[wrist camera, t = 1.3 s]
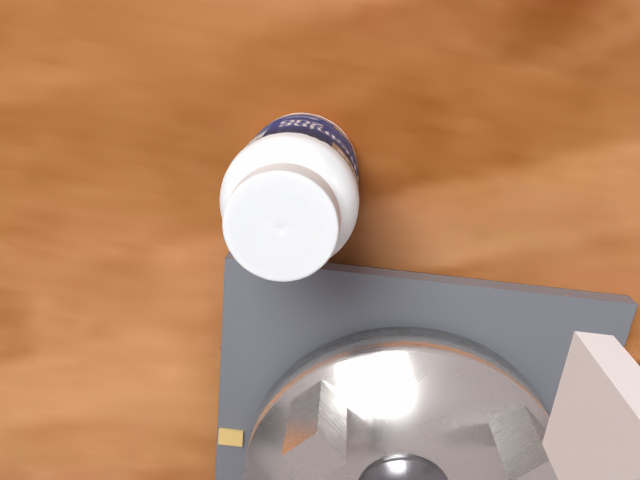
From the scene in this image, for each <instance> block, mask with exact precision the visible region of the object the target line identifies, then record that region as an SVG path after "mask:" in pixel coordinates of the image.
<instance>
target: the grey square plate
mask: <svg viewBox="0 0 640 480" xmlns="http://www.w3.org/2000/svg"><path fill="white" fill-rule="evenodd" d="M637 306H638V304H637V303H636V302H635V301H634V300H633V299H632V298H631V297H630V296H625V295H616V294H607V293H598V292H589V291H580V290H571V289H562V288H553V287H544V286H535V285H526V284H517V283H508V282H499V281H490V280H481V279H472V278H463V277H454V276H445V275H436V274H427V273H418V272H409V271H400V270H391V269H382V268H373V267H364V266H355V265H346V264H337V263H328V262H326V263H325V264H324V265H323V266H322V267H321V268H320V269H319V270H317V271H316V272H315V273H313V274H311V275H310V276H308V277H305V278H303V279H300V280H295V281H288V282H277V281H271V280H266V279H263V278H261V277H258V276H256V275H254V274H252V273H250V272H249V271H247V270H246V269H245V268H243V267H242V266H241V265H240V264H239V263H238V262H237V261H236V260H235V258H234V257H233V255H232V254H231V252H229V253H228V254H227V256H226V258H225V273H224V296H223V318H222V341H221V364H220V387H219V410H218V433H217V455H216V478H215V480H243V471H244V464H245V458H246V454H247V450H248V446H249V442H250V438H251V434H252V430H253V426H254V423H255V420H256V416H257V413H258V410H259V408H260V406H261V404H262V402H263V400H264V398H265V396H266V395H267V393H268V392H269V391H270V389H271V388H272V386H273V385H274V383H275V382H276V381H277V380H278V379H279V378H280V377H281V376H282V374H283V373H284V372H285V371H286V370H287V369H288V368H289V367H291V366H292V365H293V364H294V363H296V362H297V361H298V360H299V359H301V358H302V357H303V356H305V355H306V354H308V353H310V352H311V351H313V350H314V349H316V348H318V347H319V346H321V345H324V344H326V343H328V342H330V341H333V340H335V339H337V338H340V337H343V336H346V335H350V334H353V333H356V332H360V331H365V330H371V329H376V328H385V327H420V328H428V329H434V330H440V331H445V332H448V333H452V334H455V335H458V336H462V337H465V338H467V339H469V340H472V341H474V342H476V343H479V344H481V345H483V346H485V347H487V348H488V349H490V350H492V351H493V352H495V353H497V354H498V355H500V356H501V357H503V358H504V359H505V360H506V361H508V362H509V363H510V364H511V365H513V366H514V367H515V368H516V369H517V370H518V371H519V372H520V373H521V374H522V375H523V376H524V377H525V378H526V380H527V381H528V382H529V383H530V385H531V386H532V387H533V389H534V390H535V392H536V393H537V395H538V396H539V398H540V400H541V402H542V404H543V406H544V408H545V410H546V412H547V414H548V415H549V417H550V414H551V411H552V407H553V404H554V400H555V397H556V393H557V390H558V386H559V383H560V379H561V376H562V373H563V369H564V366H565V362H566V359H567V355H568V352H569V348H570V345H571V341H572V338H573V334H574V331H579V332H587V333H596V334H605V335H613V336H614V337H615V338H616V339H617V340H618V342H619V343H620V344H621V345H622V346H623V347H624V346H625V343H626V340H627V337H628V334H629V331H630V327H631V324H632V321H633V318H634V315H635V312H636V309H637Z"/></svg>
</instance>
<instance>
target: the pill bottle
mask: <svg viewBox="0 0 640 480" xmlns="http://www.w3.org/2000/svg"><path fill="white" fill-rule="evenodd" d="M220 211H221V216H222V220H223V223H222V225H223V235H224V239H225V242H226V244H227V247H228V249H229V251H230V252H231V254H232V255H233V257H234V258H235V260H236V261H237V262H238V263H239V264H240V265H241V266H242V267H243V268H245V269H246V270H247V271H249V272H250V273H252V274H254V275H256V276H258V277H261V278H263V279H266V280H271V281H277V282H288V281H295V280H300V279H303V278H305V277H308V276H310V275H311V274H313V273H315V272H316V271H317V270H319V269H320V268H321V267H322V266H323V265H324V264H325V263H326V262H327V261H328V260H329V258H330V257H332V256H333V255H335V254H336V253H337V252H338V251H339V250H340V249H341V248H342V247H343V246H344V244H345V243H346V242H347V240H348V239H349V237H350V236H351V234H352V232H353V230H354V227H355V224H356V221H357V217H358V211H359V180H358V164H357V158H356V154H355V151H354V148H353V145H352V143H351V141H350V140H349V138H348V137H347V135H346V134H345V133H344V132H343V131H342V129H341V128H340V127H338V126H337V125H336V124H335V123H333V122H332V121H330V120H328V119H326V118H324V117H322V116H319V115H315V114H310V113H293V114H289V115H285V116H282V117H280V118H278V119H276V120H274V121H273V122H271V123H270V124H268V125H267V126H266V127H265V128H263V129H262V130H261V131H260V132H259V133H258V135H257V136H256V137H255V138H254V139H253V140H252V141H251V142H250V143H249V144H248V145H247V146H246V147H245V148H244V149H243V150H242V151H241V152H240V153H239V154H238V155H237V156H236V157H235V158H234V160H233V161H232V163H231V164H230V166H229V168H228V170H227V172H226V174H225V176H224V179H223V182H222V185H221V191H220Z"/></svg>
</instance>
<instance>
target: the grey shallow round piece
mask: <svg viewBox="0 0 640 480" xmlns="http://www.w3.org/2000/svg"><path fill="white" fill-rule="evenodd" d="M549 418H550V417H549V415H548V414H547V412H546V410H545V408H544V406H543V404H542V402H541V400H540V398H539V396H538V395H537V393H536V392H535V390H534V389H533V387H532V386H531V385H530V383H529V382H528V381H527V380H526V378H525V377H524V376H523V375H522V374H521V373H520V372H519V371H518V370H517V369H516V368H515V367H514V366H513V365H511V364H510V363H509V362H508V361H506V360H505V359H504V358H503V357H501V356H500V355H498V354H497V353H495V352H493V351H492V350H490V349H488V348H487V347H485V346H483V345H481V344H479V343H476V342H474V341H472V340H469V339H467V338H465V337H462V336H458V335H455V334H452V333H448V332H445V331H440V330H434V329H428V328H420V327H385V328H376V329H371V330H365V331H360V332H356V333H353V334H350V335H346V336H343V337H340V338H337V339H335V340H333V341H330V342H328V343H326V344H324V345H321V346H319V347H318V348H316V349H314V350H313V351H311V352H310V353H308V354H306V355H305V356H303V357H302V358H301V359H299V360H298V361H297V362H296V363H294V364H293V365H292V366H291V367H289V368H288V369H287V370H286V371H285V372H284V373H283V374H282V376H281V377H280V378H279V379H278V380H277V381H276V382H275V383H274V385H273V386H272V388H271V389H270V391H269V392H268V393H267V395H266V396H265V398H264V400H263V402H262V404H261V406H260V408H259V410H258V413H257V416H256V420H255V423H254V426H253V430H252V434H251V438H250V442H249V446H248V450H247V454H246V458H245V464H244V471H243V480H558V478H557V476H556V474H555V471H554V469H553V467H552V465H551V463H550V460H549V458H548V456H547V454H546V452H545V449H544V447H543V445H542V442H543V439H544V435H545V432H546V428H547V425H548V421H549Z"/></svg>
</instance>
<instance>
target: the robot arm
mask: <svg viewBox="0 0 640 480" xmlns="http://www.w3.org/2000/svg"><path fill="white" fill-rule="evenodd" d="M542 445H543V447H544V449H545V452H546V454H547V456H548V458H549V460H550V463H551V465H552V467H553V469H554V471H555V474H556V476H557V478H558V480H640V366H639V365H638V364H637V363H636V362H635V360H634V359H633V358H632V357H631V356H630V355H629V353H628V352H627V351H626V350H625V349H624V347H623V346H622V345H621V344H620V343H619V342H618V340H617V339H616V338H615V337H614V336H613V335H605V334H596V333H587V332H579V331H574V334H573V338H572V341H571V345H570V348H569V352H568V355H567V359H566V362H565V366H564V369H563V373H562V376H561V379H560V383H559V386H558V390H557V393H556V397H555V400H554V404H553V407H552V411H551V414H550V418H549V421H548V425H547V428H546V432H545V435H544V439H543V442H542Z"/></svg>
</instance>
